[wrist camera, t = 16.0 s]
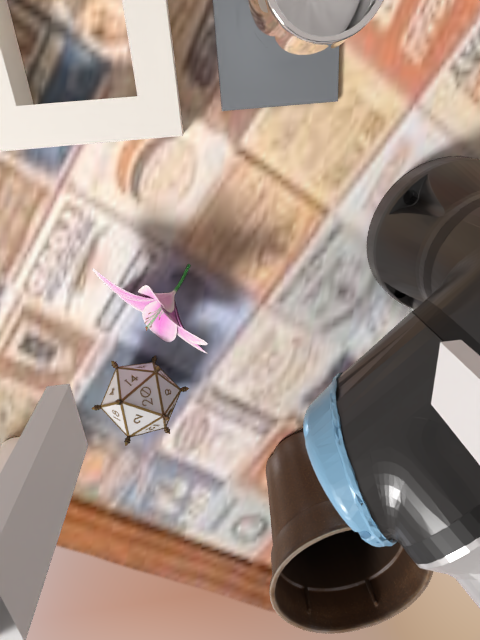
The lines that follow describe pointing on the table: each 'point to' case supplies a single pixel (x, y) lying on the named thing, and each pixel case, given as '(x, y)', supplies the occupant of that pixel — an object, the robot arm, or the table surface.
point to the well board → (102, 114)
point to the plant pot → (329, 555)
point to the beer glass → (300, 26)
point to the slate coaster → (267, 70)
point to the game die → (140, 398)
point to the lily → (158, 311)
